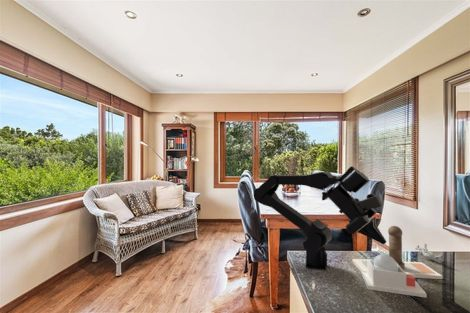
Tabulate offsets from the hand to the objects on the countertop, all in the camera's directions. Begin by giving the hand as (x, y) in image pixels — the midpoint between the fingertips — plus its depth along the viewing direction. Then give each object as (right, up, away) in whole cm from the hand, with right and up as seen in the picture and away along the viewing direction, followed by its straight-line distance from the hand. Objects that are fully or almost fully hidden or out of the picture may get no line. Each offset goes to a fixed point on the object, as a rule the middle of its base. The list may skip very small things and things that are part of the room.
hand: (385, 243), depth 71 cm
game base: (+1, -12, -1) cm, 12 cm away
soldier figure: (+28, -13, +18) cm, 35 cm away
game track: (+9, -12, +9) cm, 18 cm away
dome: (0, -9, 0) cm, 9 cm away
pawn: (+9, -11, +9) cm, 17 cm away
